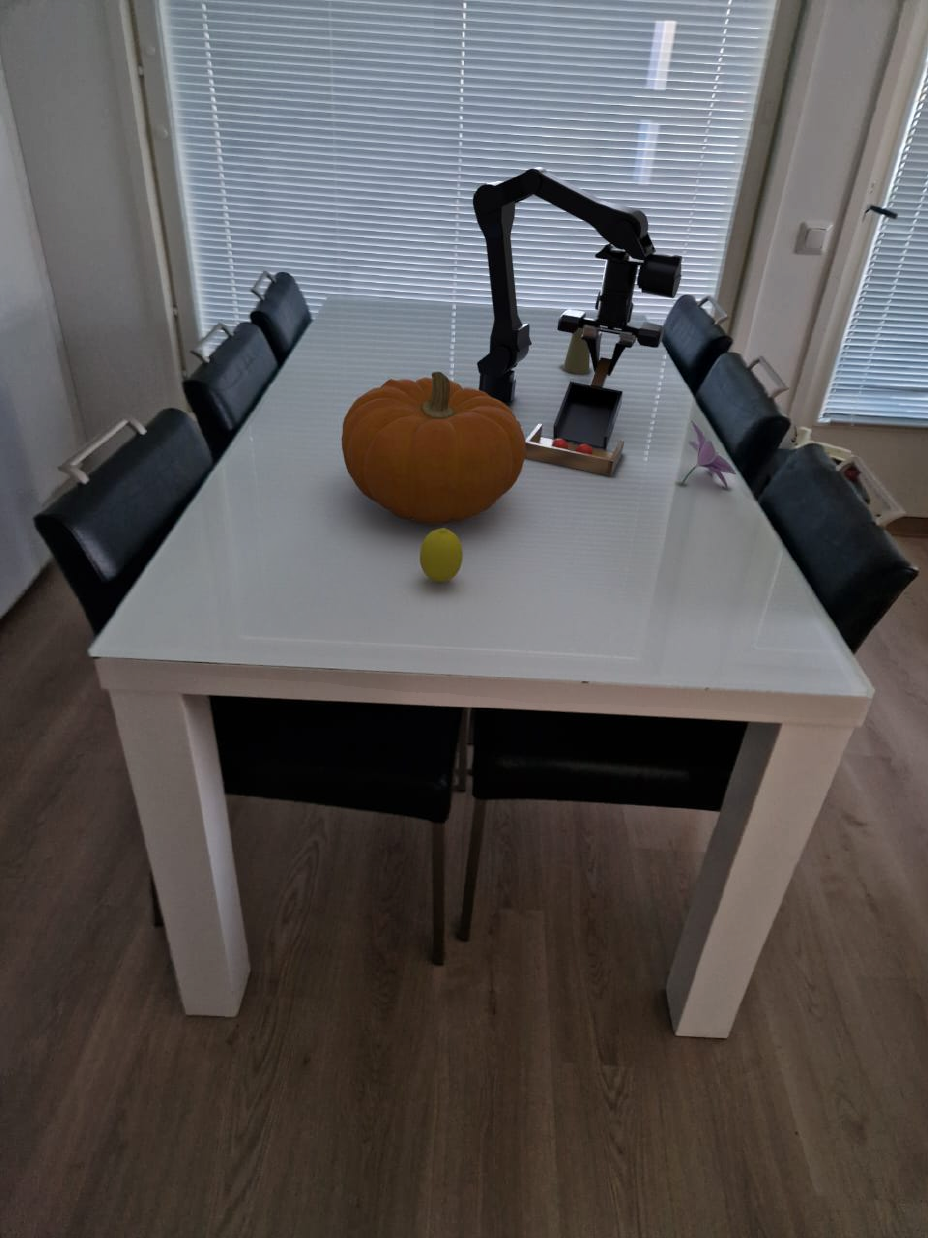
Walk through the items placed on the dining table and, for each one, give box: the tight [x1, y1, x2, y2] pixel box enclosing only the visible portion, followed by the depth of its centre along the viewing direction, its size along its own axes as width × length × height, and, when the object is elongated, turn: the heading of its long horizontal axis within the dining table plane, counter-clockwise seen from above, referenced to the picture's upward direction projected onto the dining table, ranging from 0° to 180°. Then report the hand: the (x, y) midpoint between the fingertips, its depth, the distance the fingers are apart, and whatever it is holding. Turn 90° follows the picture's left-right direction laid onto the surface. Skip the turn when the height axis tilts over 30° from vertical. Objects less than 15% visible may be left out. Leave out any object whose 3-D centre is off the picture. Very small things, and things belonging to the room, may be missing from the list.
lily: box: [680, 420, 737, 490], centre depth 141 cm, size 12×12×10 cm
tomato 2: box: [576, 444, 593, 455], centre depth 145 cm, size 3×3×3 cm
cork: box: [562, 328, 591, 375], centre depth 186 cm, size 6×6×11 cm
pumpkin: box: [341, 371, 526, 525], centre depth 123 cm, size 28×28×20 cm
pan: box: [552, 356, 624, 450], centre depth 154 cm, size 18×10×4 cm
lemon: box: [419, 527, 464, 584], centre depth 107 cm, size 6×6×8 cm
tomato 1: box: [551, 439, 568, 450], centre depth 146 cm, size 3×3×3 cm
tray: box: [525, 423, 625, 477], centre depth 147 cm, size 16×10×3 cm, turn 70°
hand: (602, 374), depth 156 cm, fingers closed on pan, 2 cm apart
